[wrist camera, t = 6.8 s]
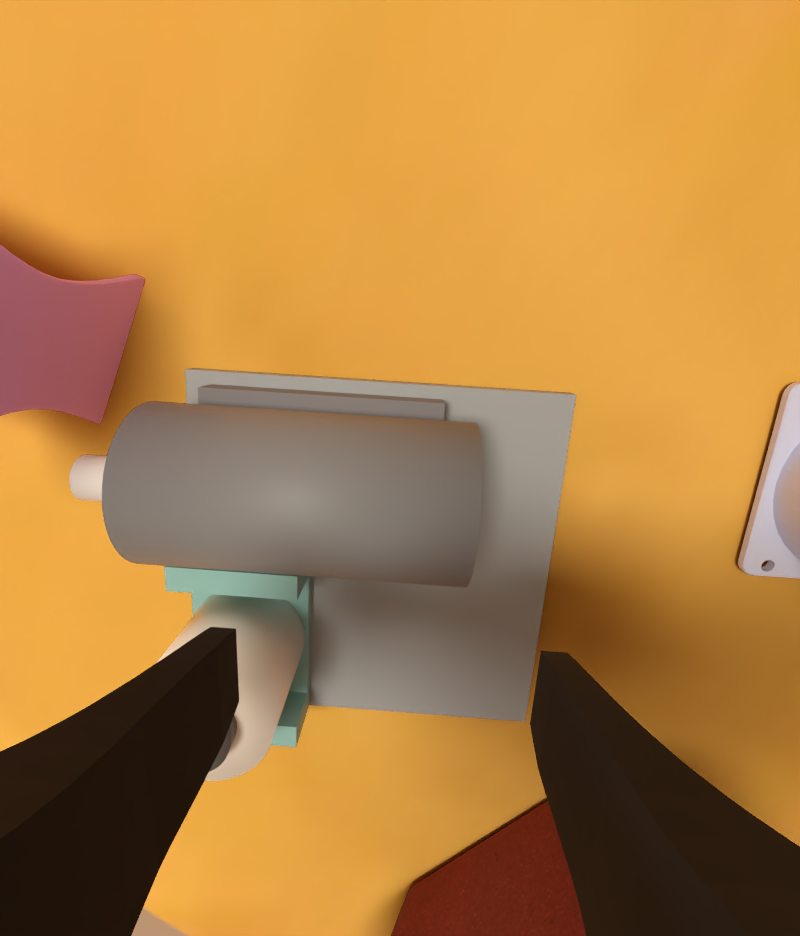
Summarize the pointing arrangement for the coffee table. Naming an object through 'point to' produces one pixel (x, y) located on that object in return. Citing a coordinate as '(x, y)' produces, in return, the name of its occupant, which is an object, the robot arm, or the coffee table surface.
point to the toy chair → (61, 338)
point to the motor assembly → (354, 526)
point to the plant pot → (499, 888)
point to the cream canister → (251, 671)
